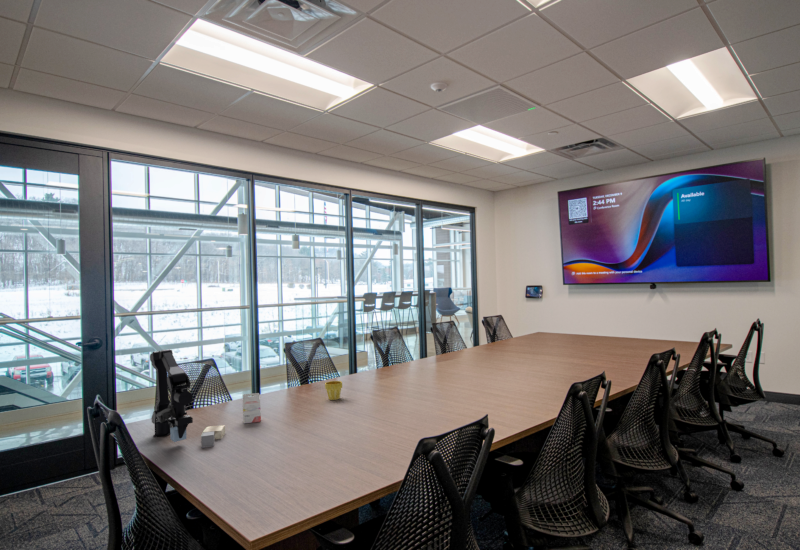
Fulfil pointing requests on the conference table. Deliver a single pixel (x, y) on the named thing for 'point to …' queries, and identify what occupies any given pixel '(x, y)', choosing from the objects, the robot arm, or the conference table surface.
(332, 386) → the plant pot
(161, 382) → the robot arm
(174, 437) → the blue cube
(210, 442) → the grey cube
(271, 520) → the conference table surface
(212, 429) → the maple block
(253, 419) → the ink cartridge box
